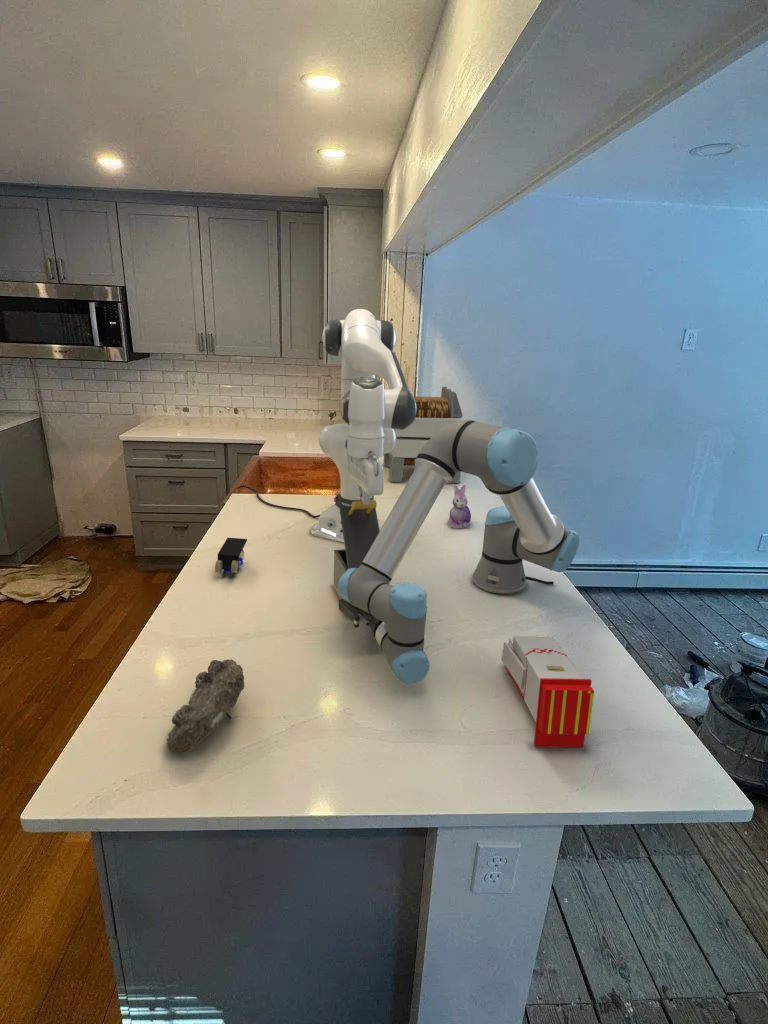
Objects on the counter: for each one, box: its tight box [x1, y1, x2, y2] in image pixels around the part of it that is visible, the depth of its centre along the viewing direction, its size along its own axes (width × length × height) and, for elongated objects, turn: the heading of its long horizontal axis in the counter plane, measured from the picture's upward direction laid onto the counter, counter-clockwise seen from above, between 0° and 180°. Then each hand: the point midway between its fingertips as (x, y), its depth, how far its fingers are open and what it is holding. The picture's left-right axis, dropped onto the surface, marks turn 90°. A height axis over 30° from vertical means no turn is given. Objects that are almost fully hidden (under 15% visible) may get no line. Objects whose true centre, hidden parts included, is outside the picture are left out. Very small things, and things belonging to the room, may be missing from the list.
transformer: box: [382, 386, 465, 484], centre depth 268 cm, size 34×33×41 cm
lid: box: [339, 499, 380, 569], centre depth 142 cm, size 18×10×8 cm
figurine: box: [448, 484, 472, 529], centre depth 208 cm, size 9×10×15 cm
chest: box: [333, 548, 348, 600], centre depth 152 cm, size 18×10×11 cm, turn 18°
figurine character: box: [214, 537, 248, 578], centre depth 166 cm, size 7×8×15 cm
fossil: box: [166, 658, 245, 754], centre depth 106 cm, size 22×10×15 cm
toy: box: [501, 635, 595, 748], centre depth 115 cm, size 12×13×30 cm
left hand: (364, 502), depth 141 cm, fingers closed
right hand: (363, 586), depth 147 cm, fingers closed on chest, 9 cm apart
